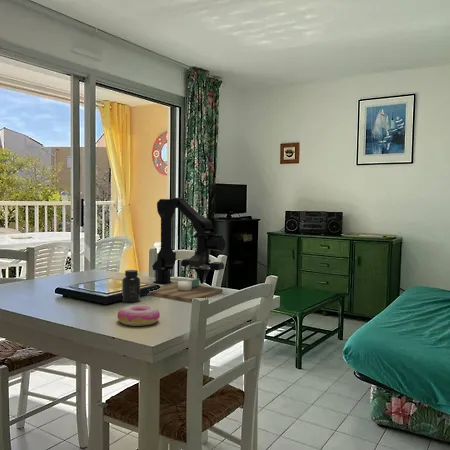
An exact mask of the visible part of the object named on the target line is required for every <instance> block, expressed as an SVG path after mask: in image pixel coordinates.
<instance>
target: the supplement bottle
mask: <svg viewBox="0 0 450 450" xmlns="http://www.w3.org/2000/svg"><path fill="white" fill-rule="evenodd" d="M138 273H139V272H138V270H137V269H127V270H125V271H124V276H125V277H123V278H122V282H121V284H122V288H121V291H122V294H121V295H122V296H123V300H122V302H123V301H124V303H127V304H128V303H130V304H131V303H138V302H140V300H141V279H140V277H138V275H139V274H138Z"/></svg>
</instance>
